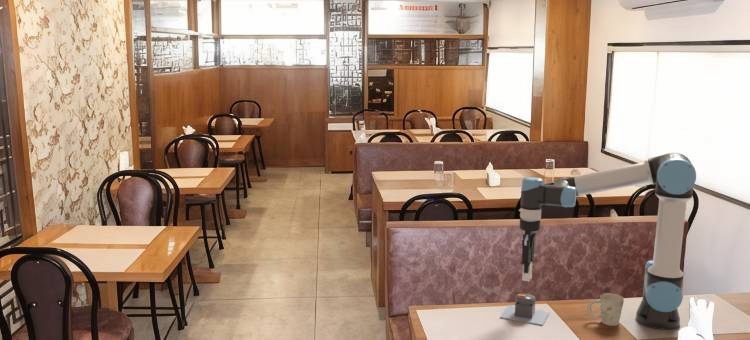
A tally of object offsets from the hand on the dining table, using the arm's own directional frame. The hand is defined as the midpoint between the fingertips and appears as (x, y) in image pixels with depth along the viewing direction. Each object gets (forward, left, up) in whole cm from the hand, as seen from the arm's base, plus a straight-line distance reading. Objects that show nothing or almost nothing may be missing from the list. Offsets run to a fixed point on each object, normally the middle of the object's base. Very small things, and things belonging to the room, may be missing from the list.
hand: (526, 279), depth 249 cm
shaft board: (0, 0, -14) cm, 14 cm away
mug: (-28, -7, -15) cm, 32 cm away
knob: (0, 0, -14) cm, 14 cm away
